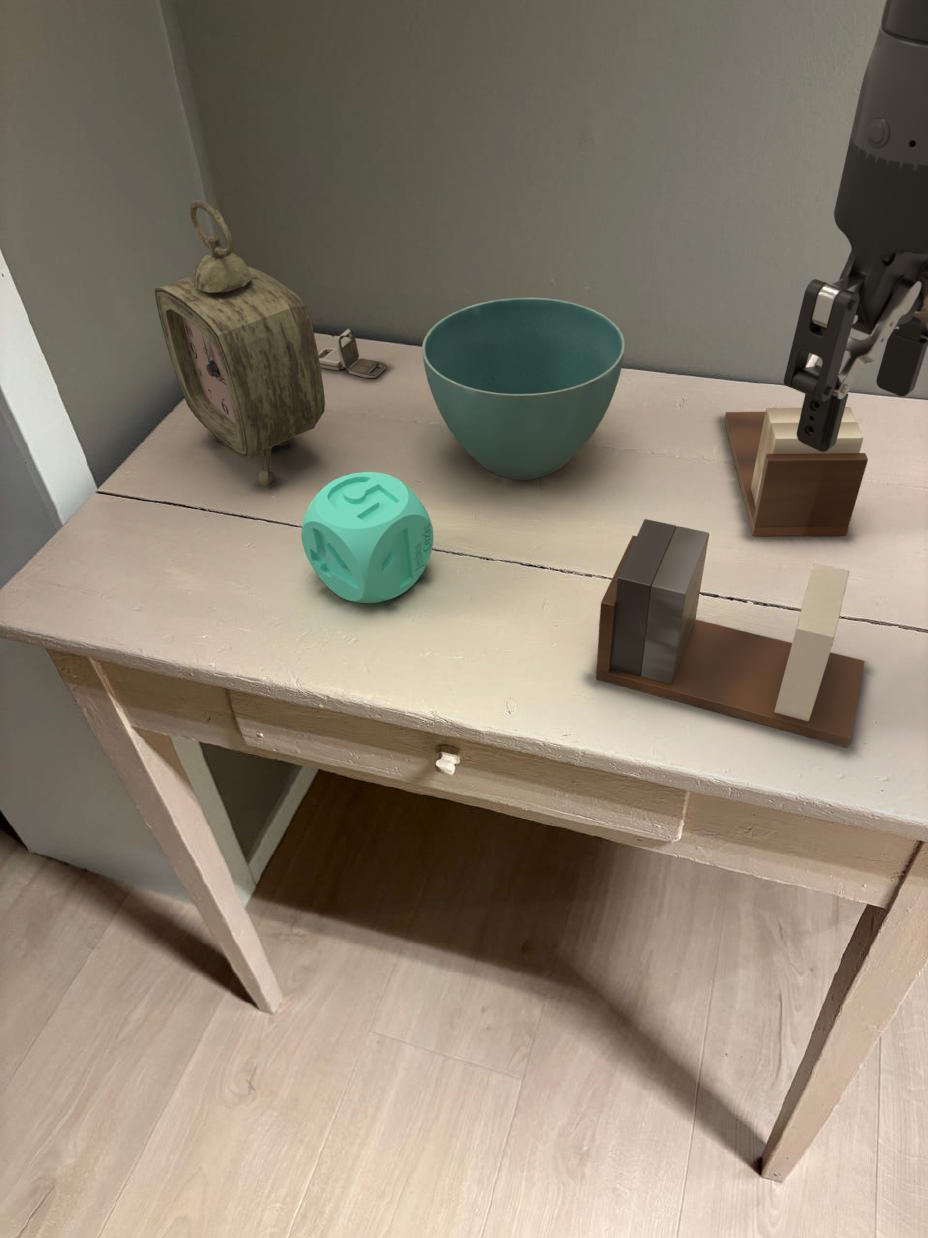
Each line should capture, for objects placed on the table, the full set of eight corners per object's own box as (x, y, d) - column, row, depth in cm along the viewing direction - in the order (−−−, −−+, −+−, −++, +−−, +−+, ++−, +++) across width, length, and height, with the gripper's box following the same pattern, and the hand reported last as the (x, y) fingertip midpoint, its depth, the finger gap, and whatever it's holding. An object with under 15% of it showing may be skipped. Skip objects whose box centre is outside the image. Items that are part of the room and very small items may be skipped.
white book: (823, 655, 72) (849, 570, 66) (808, 722, 68) (834, 637, 62) (791, 647, 73) (813, 562, 67) (774, 712, 69) (796, 628, 63)
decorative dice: (371, 618, 79) (359, 543, 74) (308, 577, 83) (292, 503, 78) (438, 569, 83) (431, 494, 78) (374, 532, 87) (364, 459, 82)
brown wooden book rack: (846, 535, 84) (873, 443, 77) (752, 536, 84) (771, 444, 78) (804, 419, 97) (824, 332, 90) (724, 420, 98) (737, 333, 91)
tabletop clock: (193, 439, 100) (122, 193, 83) (269, 407, 104) (216, 166, 86) (263, 502, 92) (200, 242, 74) (342, 464, 95) (300, 209, 78)
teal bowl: (484, 391, 104) (479, 283, 95) (643, 428, 97) (654, 315, 89) (398, 483, 93) (384, 369, 84) (572, 531, 86) (576, 413, 77)
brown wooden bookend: (861, 669, 72) (897, 567, 65) (847, 747, 67) (884, 646, 60) (625, 611, 78) (634, 511, 71) (595, 679, 73) (602, 579, 66)
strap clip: (311, 365, 110) (305, 331, 107) (325, 353, 112) (320, 319, 109) (374, 380, 107) (370, 345, 104) (388, 367, 109) (384, 332, 106)
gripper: (926, 192, 42) (842, 492, 53) (1076, 111, 48) (973, 394, 60) (780, 153, 46) (732, 439, 57) (936, 83, 53) (865, 353, 64)
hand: (855, 416), depth 58 cm, fingers open, 8 cm apart
